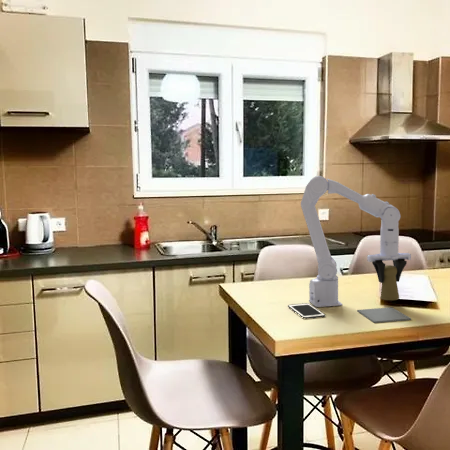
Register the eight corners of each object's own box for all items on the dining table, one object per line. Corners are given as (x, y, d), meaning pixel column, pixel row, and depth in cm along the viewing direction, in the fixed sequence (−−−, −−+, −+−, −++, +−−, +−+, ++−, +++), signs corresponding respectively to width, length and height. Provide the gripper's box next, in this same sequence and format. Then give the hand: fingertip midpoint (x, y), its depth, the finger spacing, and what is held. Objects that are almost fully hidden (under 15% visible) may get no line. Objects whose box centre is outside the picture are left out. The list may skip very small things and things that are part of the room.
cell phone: (308, 305, 164) (308, 302, 164) (326, 318, 150) (326, 315, 150) (287, 307, 163) (287, 304, 163) (303, 320, 148) (303, 317, 148)
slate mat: (373, 323, 143) (374, 321, 143) (357, 311, 155) (357, 309, 155) (411, 319, 145) (411, 318, 144) (391, 308, 156) (391, 307, 156)
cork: (383, 294, 164) (382, 263, 163) (401, 296, 161) (400, 264, 159) (377, 299, 159) (376, 267, 158) (396, 301, 156) (395, 268, 155)
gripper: (374, 244, 153) (373, 285, 155) (416, 242, 155) (415, 283, 157) (364, 241, 160) (364, 280, 161) (405, 239, 162) (404, 278, 164)
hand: (388, 281), depth 159 cm, fingers closed on cork, 5 cm apart
